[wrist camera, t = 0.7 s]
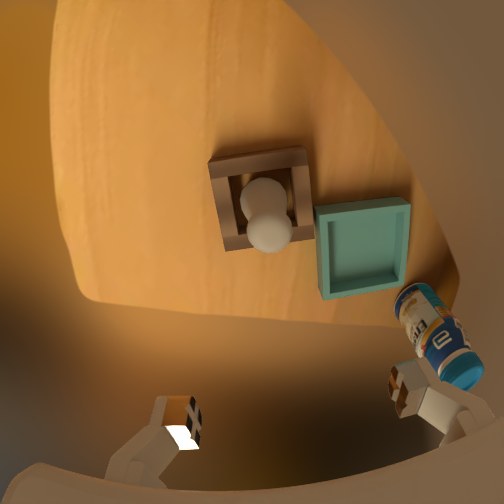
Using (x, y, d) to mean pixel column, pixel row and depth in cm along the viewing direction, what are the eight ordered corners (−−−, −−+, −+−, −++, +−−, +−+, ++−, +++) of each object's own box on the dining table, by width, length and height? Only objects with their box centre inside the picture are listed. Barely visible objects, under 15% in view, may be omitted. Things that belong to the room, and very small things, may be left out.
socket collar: (210, 159, 37) (207, 163, 34) (301, 145, 36) (306, 148, 33) (226, 241, 42) (225, 251, 39) (310, 229, 41) (314, 238, 39)
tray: (313, 206, 40) (319, 215, 37) (399, 196, 39) (410, 204, 36) (318, 287, 46) (323, 300, 43) (394, 273, 45) (403, 285, 42)
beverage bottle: (430, 311, 49) (481, 387, 31) (391, 324, 50) (435, 410, 32) (433, 274, 46) (496, 351, 28) (392, 288, 46) (447, 376, 29)
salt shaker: (231, 190, 39) (225, 229, 27) (266, 164, 37) (277, 191, 26) (258, 224, 41) (264, 274, 29) (293, 199, 39) (314, 241, 28)
